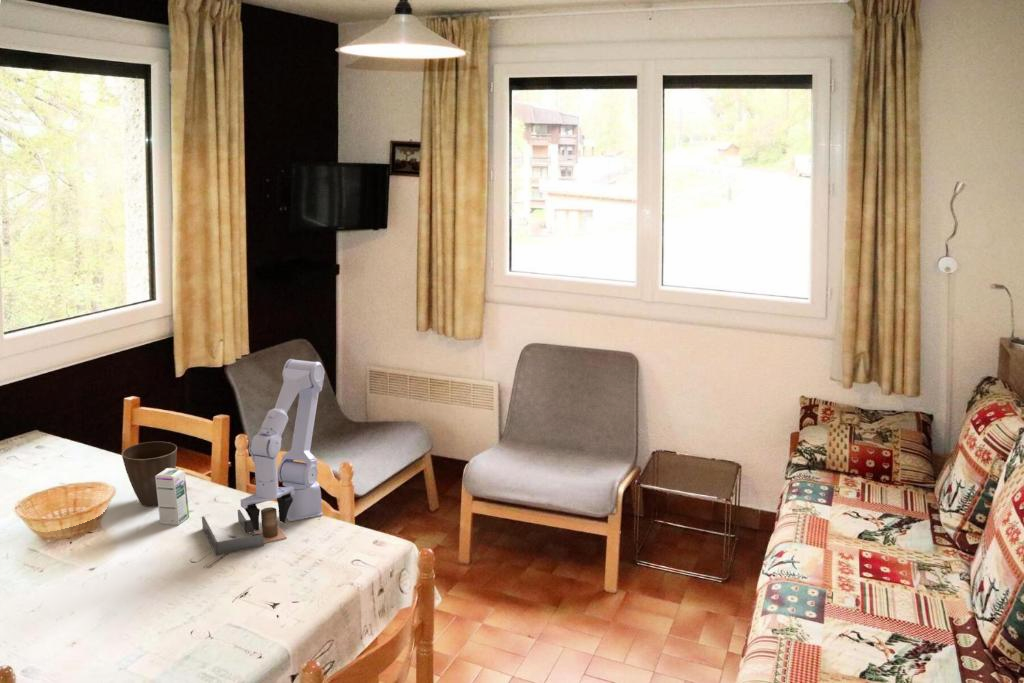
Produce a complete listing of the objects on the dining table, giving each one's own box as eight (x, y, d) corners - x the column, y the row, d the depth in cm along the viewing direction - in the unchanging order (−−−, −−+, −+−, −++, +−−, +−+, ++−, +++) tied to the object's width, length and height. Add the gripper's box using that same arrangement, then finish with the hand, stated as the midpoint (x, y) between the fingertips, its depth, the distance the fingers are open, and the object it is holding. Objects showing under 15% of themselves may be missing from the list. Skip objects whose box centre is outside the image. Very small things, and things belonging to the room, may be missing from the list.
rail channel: (247, 519, 262) (246, 508, 261) (263, 546, 247) (263, 533, 246) (202, 528, 257) (201, 516, 256) (216, 555, 241) (215, 543, 240)
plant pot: (118, 500, 274) (113, 449, 270) (168, 487, 284) (164, 437, 280) (138, 517, 264) (133, 463, 260) (190, 502, 273) (185, 450, 269)
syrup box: (178, 525, 258) (174, 476, 255) (159, 523, 259) (154, 474, 256) (189, 517, 264) (185, 468, 260) (170, 515, 265) (166, 467, 261)
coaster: (279, 528, 257) (279, 527, 257) (286, 538, 251) (286, 537, 251) (253, 533, 254) (253, 532, 254) (260, 544, 248) (260, 542, 248)
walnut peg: (280, 535, 252) (279, 510, 250) (266, 539, 250) (265, 515, 248) (273, 529, 255) (272, 506, 253) (259, 534, 253) (258, 510, 251)
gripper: (284, 467, 256) (287, 513, 259) (234, 480, 247) (237, 528, 250) (297, 474, 251) (299, 521, 254) (246, 488, 242) (249, 537, 245)
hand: (269, 525), depth 252 cm, fingers open, 7 cm apart
